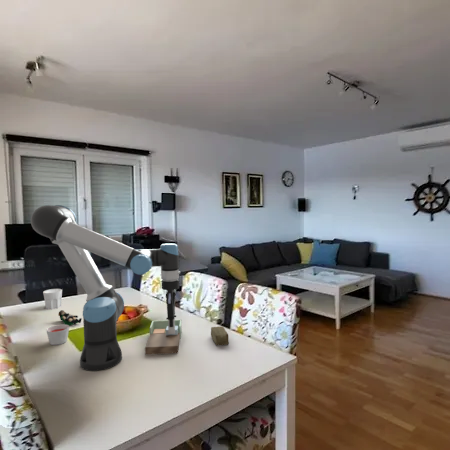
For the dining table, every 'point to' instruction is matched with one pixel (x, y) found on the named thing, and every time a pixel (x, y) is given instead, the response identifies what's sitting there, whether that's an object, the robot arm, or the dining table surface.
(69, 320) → the figurine
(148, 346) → the board
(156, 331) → the tile terracotta
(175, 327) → the pale blue square block
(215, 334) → the stone block
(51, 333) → the candle
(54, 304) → the cup
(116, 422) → the dining table surface
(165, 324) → the tray
